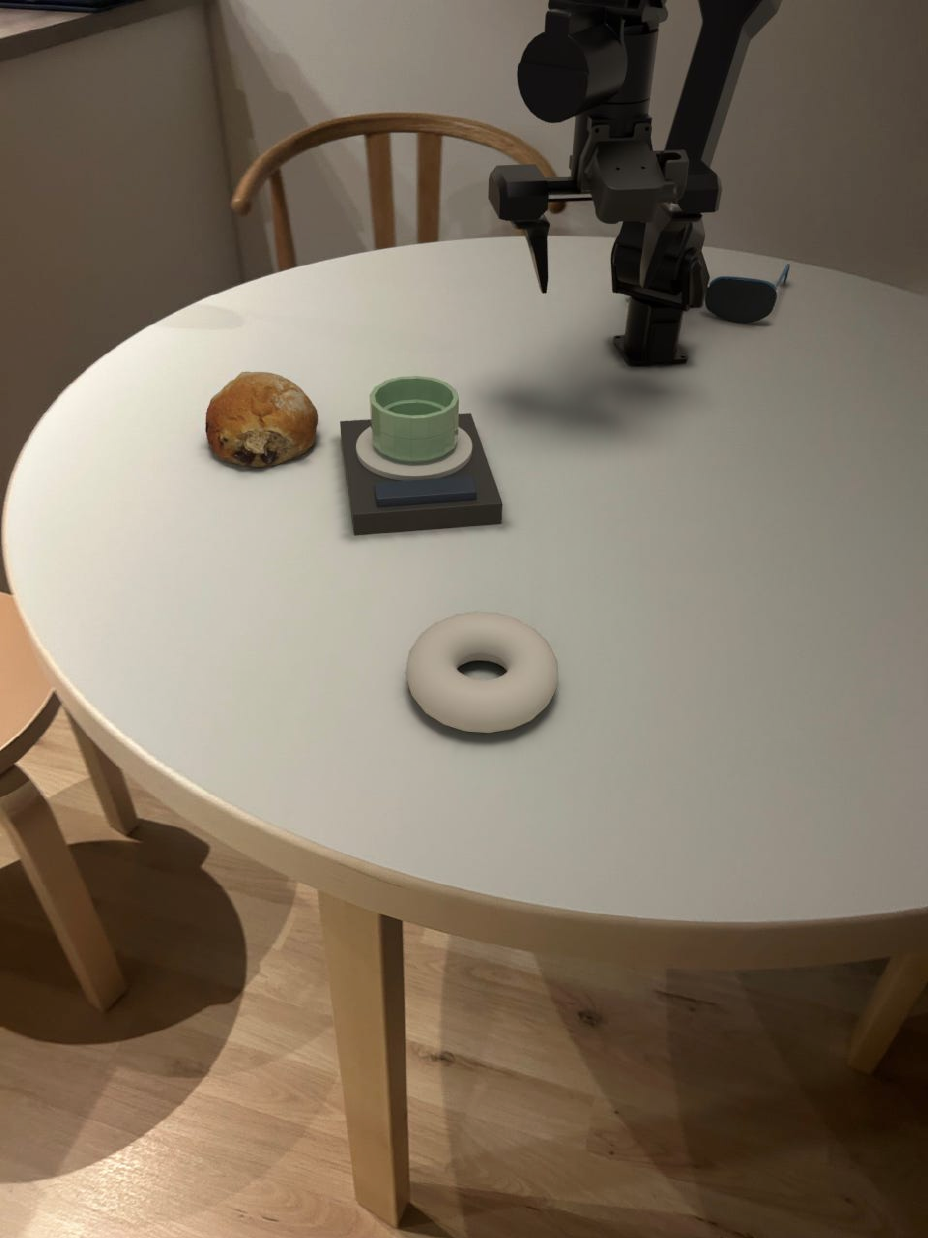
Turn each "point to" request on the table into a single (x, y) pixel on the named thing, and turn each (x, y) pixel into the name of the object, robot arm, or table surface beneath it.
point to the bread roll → (260, 420)
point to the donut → (479, 699)
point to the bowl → (414, 418)
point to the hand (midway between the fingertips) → (593, 289)
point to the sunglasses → (742, 298)
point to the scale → (418, 484)
